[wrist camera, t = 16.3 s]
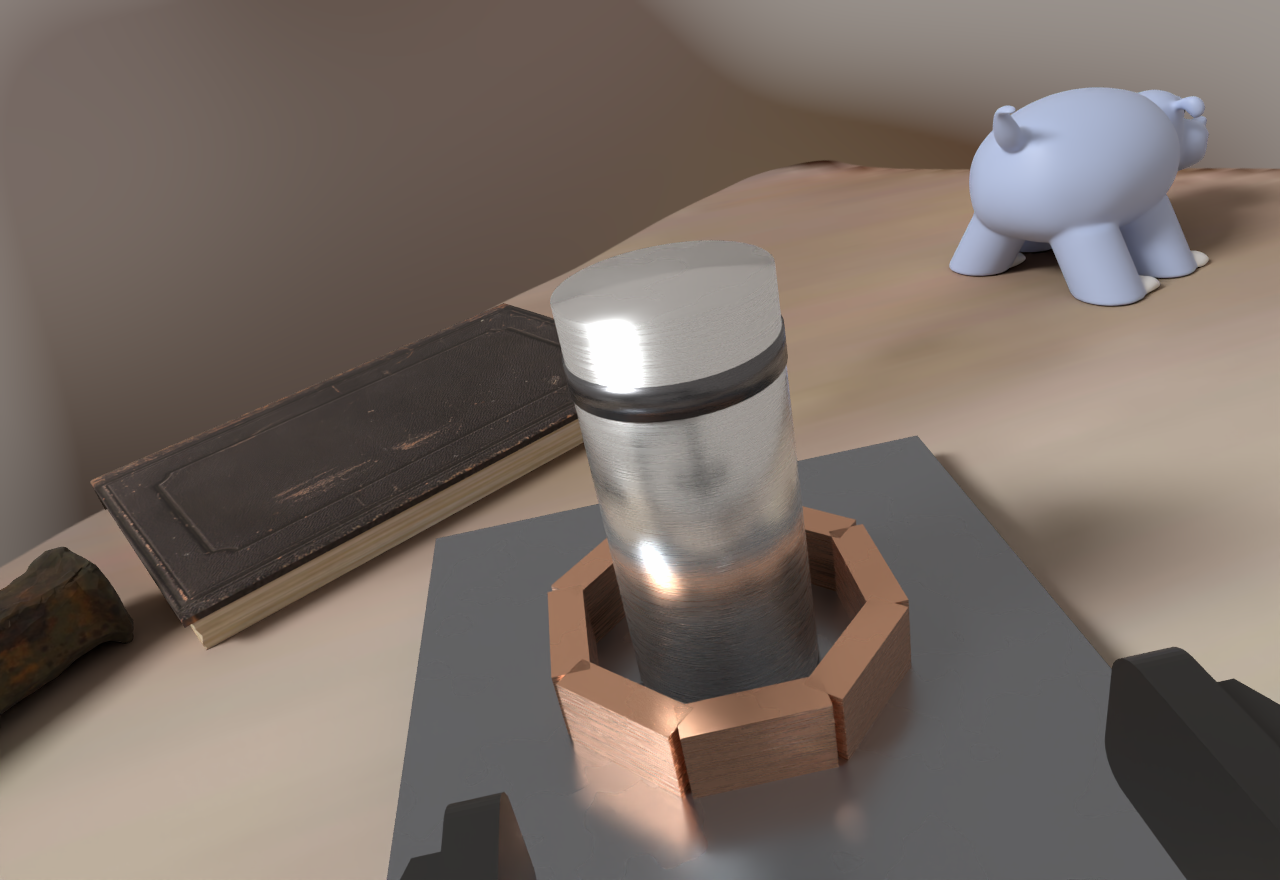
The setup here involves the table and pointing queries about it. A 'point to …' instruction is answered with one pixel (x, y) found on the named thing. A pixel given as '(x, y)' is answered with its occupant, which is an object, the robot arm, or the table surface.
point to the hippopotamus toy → (1086, 190)
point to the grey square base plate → (778, 708)
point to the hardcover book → (343, 469)
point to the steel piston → (694, 461)
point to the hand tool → (54, 621)
